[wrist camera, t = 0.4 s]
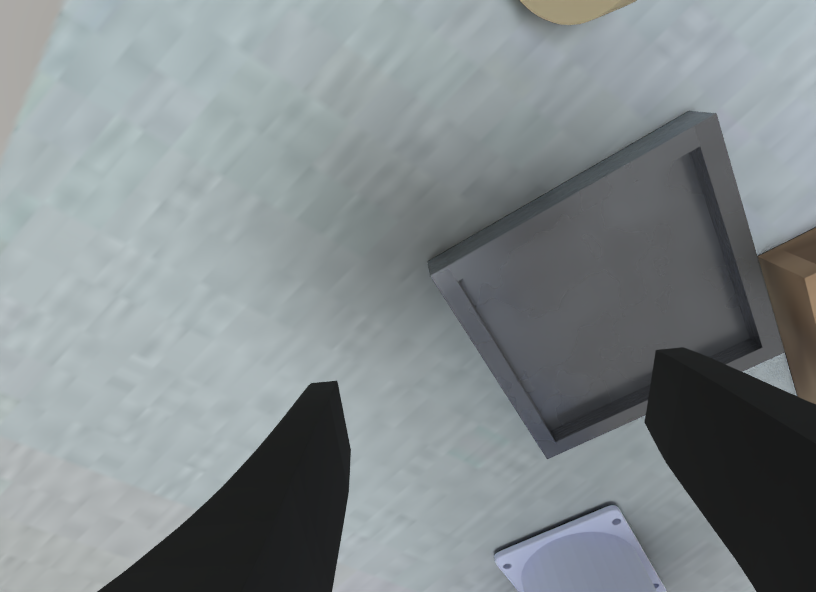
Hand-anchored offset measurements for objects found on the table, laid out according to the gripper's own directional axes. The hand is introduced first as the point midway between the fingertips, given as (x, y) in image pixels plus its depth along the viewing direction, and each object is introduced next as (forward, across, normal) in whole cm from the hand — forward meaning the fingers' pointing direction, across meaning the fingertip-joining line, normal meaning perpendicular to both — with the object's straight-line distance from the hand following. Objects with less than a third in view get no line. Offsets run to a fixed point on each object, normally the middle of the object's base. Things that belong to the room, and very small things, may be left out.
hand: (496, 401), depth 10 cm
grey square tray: (+10, -7, +3) cm, 13 cm away
